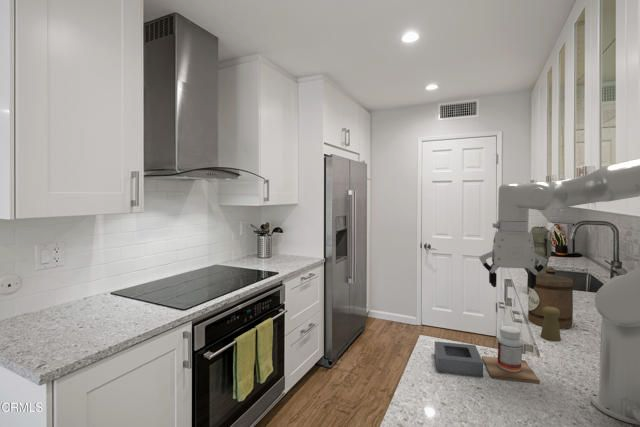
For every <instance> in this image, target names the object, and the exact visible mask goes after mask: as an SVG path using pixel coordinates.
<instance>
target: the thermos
mask: <svg viewBox="0 0 640 427" xmlns="http://www.w3.org/2000/svg"><path fill="white" fill-rule="evenodd" d="M530 233H532V236H533V243H534V252H535V254H537V255H539V256H541V257H543V258H546V259H547V262H546V264H545V266H544V268H543V269H542V270H541V271H540V272H538V274H545V273H546V269H547V268H548V264H549V259H550V258H551V256H552V239H551V237H549V236H548V235H549V233H548V230H547V228H546V226H545V227H544V226H532V227H531V229H530ZM538 263H539V260H537V259H535V265H534V267H535V266H536V265H538ZM526 284H527V287H526V289H527V295H528V296H529V287H528V280H527V282H526Z"/></svg>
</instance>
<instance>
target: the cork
mask: <svg viewBox="0 0 640 427" xmlns="http://www.w3.org/2000/svg"><path fill="white" fill-rule="evenodd" d="M542 312H543V315H544V320H543V325H542V326H541V332H540V338H541V339H543V340H546V341H547V342H548V341H550V342H560V341H562V338H561V331H560V330H561V329H559V322H558V317H559V316H560V311H559V309H557V308H555V307H544V308H543V310H542Z"/></svg>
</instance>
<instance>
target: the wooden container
mask: <svg viewBox="0 0 640 427" xmlns="http://www.w3.org/2000/svg"><path fill="white" fill-rule="evenodd" d="M556 272H557V270H556V268H553V267H547V269H546V273H545V274H537V275H536V285H534V289H531V288H529V295H528V298H527V299H528V304H527V305H528V306H527V308H528V310H527V313H528V314H527V316H528V317H527V319H528V321H529V322H531V323H533V324H535V325H537V326H540V327H542V325H543V320H544V315H543V312H542V310H543V308H544V307H555V308H557V309H559V311H560V316H559V317H558V322H559V329H560V330H565V329H571V328H573V323H574V322H573V321H574V320H573V316H574V315H573V314H574V313H573V312H574V303H573V302H574V299H573V298H574V297H573V296H574V294H573V293H574V290H573V289H574V280H573V278H570V277H567V276H563V275H557V274H556Z"/></svg>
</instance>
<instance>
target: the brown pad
mask: <svg viewBox="0 0 640 427" xmlns="http://www.w3.org/2000/svg"><path fill="white" fill-rule="evenodd" d="M481 359H482V361H483V365H484V366H485V369H486V370H487V372H488V374H489V377H490V378H491V379H495V378H496V379H497V380H504V379H505V381H506V380H507V381H512V380H513V382H521V381H522V382H523V383H530V382H532V383H531V384H539V383H540V384H541V380H540V379H539V377H538V376H537V375H536V373H535V372H534V371H533V369H532V367H531V366H530V365H529V364H528V363H527V361H526V360H524V359H522V369H521V370H520V371H519V372H509V371H506V370H503V369H501V368H500V367H499V366H498V364H497V361H498V356H495V357H493V356H486V355H481Z"/></svg>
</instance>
